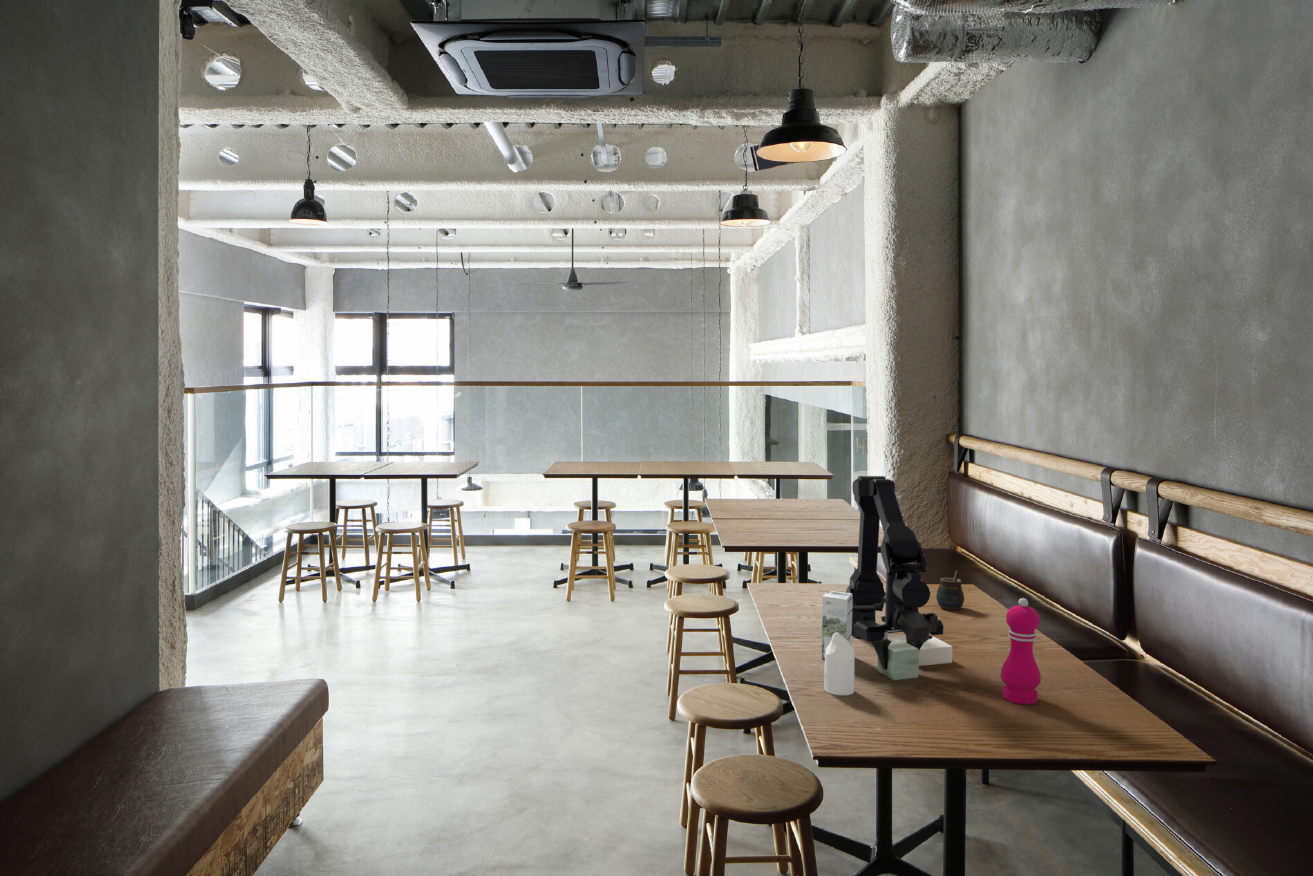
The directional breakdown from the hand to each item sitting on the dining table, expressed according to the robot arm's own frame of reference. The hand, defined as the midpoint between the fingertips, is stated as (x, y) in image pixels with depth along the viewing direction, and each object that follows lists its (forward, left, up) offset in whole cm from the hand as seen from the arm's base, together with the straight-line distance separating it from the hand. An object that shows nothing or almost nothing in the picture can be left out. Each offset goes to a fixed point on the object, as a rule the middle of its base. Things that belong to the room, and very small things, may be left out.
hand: (897, 667), depth 177 cm
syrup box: (-13, -7, -2) cm, 15 cm away
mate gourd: (-41, +44, -2) cm, 60 cm away
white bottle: (+5, -17, -2) cm, 18 cm away
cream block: (-8, +11, -2) cm, 14 cm away
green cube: (0, 0, -1) cm, 1 cm away
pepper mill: (+19, +15, -2) cm, 24 cm away
